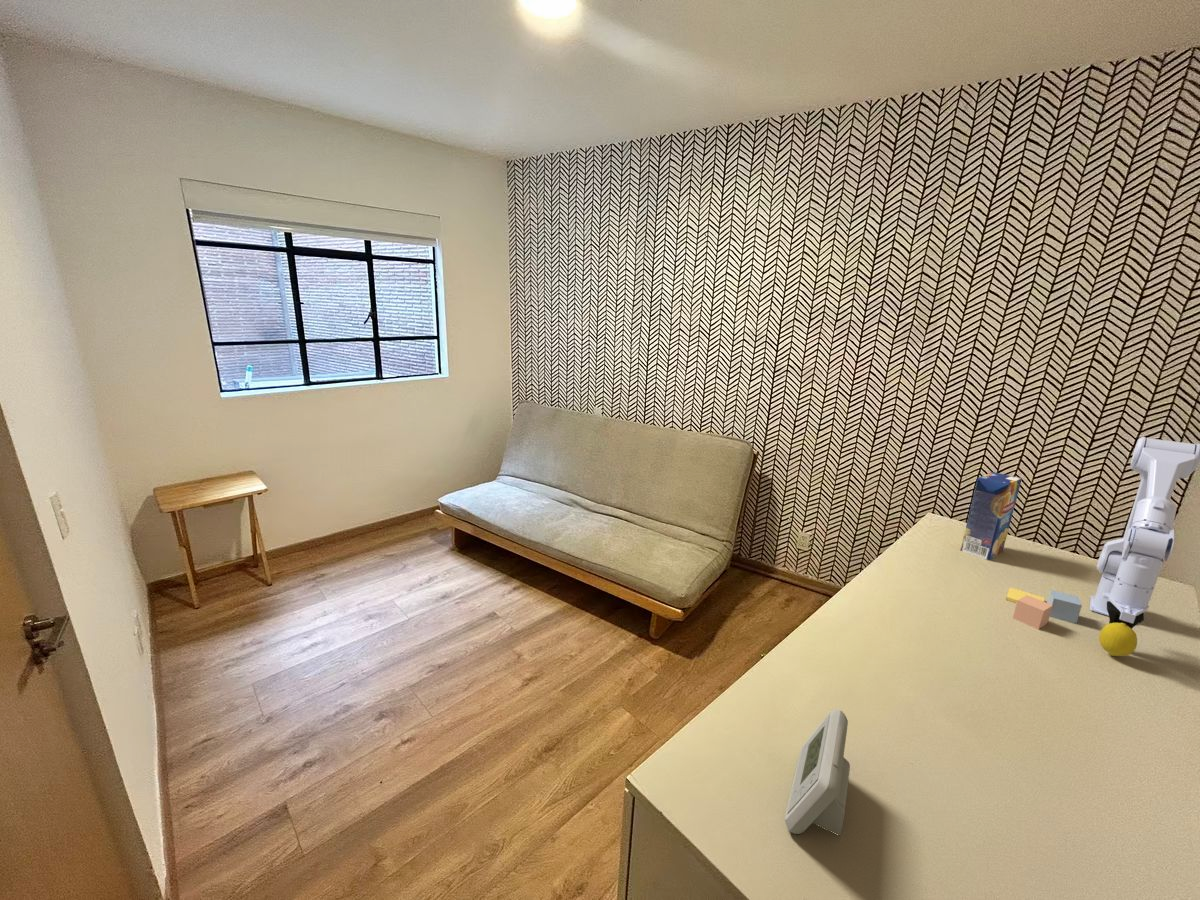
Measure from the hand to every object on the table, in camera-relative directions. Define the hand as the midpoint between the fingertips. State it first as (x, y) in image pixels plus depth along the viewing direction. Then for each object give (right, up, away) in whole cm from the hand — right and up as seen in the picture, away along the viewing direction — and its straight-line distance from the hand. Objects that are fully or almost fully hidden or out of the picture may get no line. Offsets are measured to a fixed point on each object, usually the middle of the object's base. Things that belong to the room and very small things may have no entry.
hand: (1115, 637), depth 109 cm
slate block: (-1, +1, +12) cm, 12 cm away
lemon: (-3, -3, -2) cm, 5 cm away
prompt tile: (-4, +3, +18) cm, 19 cm away
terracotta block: (-11, 0, +10) cm, 14 cm away
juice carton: (+6, +10, +46) cm, 47 cm away
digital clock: (-82, -10, -36) cm, 90 cm away
